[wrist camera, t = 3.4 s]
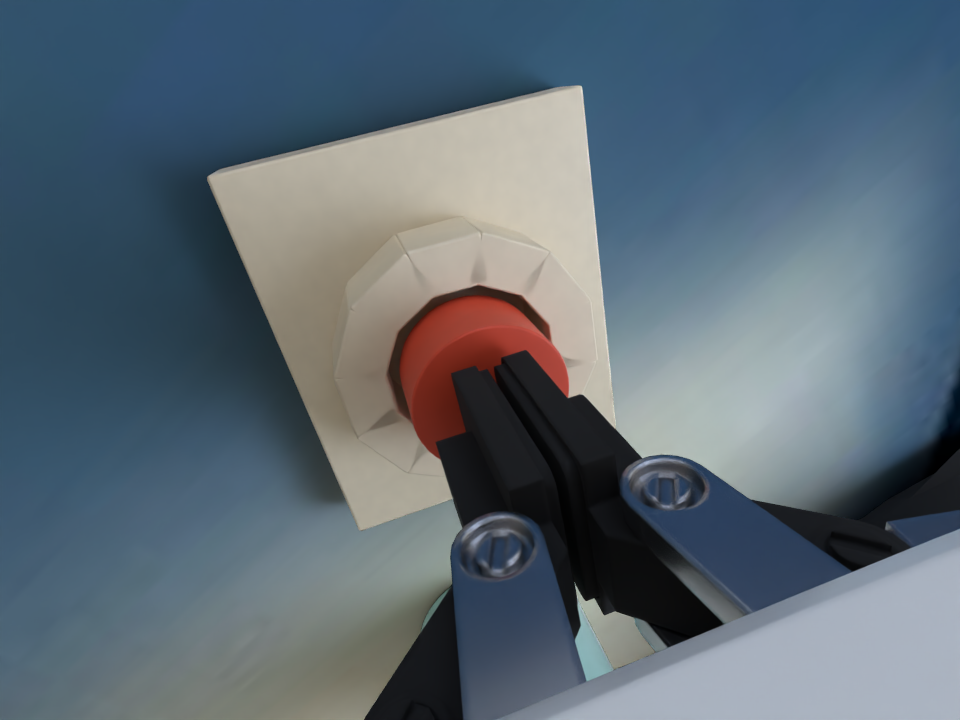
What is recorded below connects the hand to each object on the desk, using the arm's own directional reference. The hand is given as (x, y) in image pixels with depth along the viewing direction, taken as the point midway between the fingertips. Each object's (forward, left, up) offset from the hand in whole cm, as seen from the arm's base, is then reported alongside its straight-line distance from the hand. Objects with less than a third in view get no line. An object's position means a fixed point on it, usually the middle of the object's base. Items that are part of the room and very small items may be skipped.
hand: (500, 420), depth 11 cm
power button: (0, 0, -2) cm, 2 cm away
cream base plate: (0, 0, -6) cm, 6 cm away
